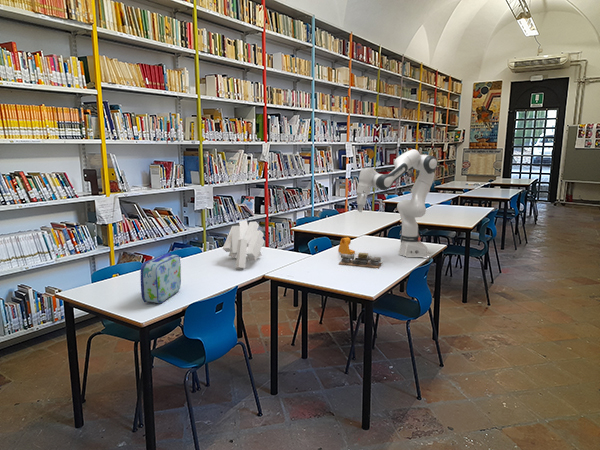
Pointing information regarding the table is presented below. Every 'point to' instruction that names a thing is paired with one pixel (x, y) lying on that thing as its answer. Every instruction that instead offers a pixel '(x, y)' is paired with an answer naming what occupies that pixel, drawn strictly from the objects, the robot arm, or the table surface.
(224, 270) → the table surface
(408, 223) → the robot arm
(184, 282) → the table surface
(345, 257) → the shaft bench
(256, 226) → the pile of blocks
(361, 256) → the coupler
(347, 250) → the orange toy figure
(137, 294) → the table surface
